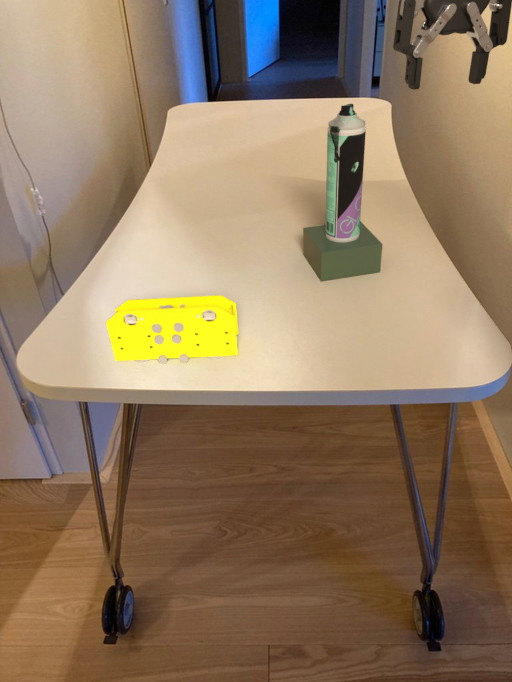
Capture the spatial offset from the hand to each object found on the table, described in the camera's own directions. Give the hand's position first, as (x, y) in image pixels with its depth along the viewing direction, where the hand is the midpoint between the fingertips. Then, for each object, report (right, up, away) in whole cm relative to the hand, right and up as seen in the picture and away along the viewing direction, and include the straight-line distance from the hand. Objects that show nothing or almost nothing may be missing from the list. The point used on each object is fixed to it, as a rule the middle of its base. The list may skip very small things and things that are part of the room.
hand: (444, 85), depth 73 cm
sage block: (-11, -21, +19) cm, 30 cm away
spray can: (-11, -17, +16) cm, 26 cm away
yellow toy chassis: (-35, -36, +1) cm, 50 cm away
